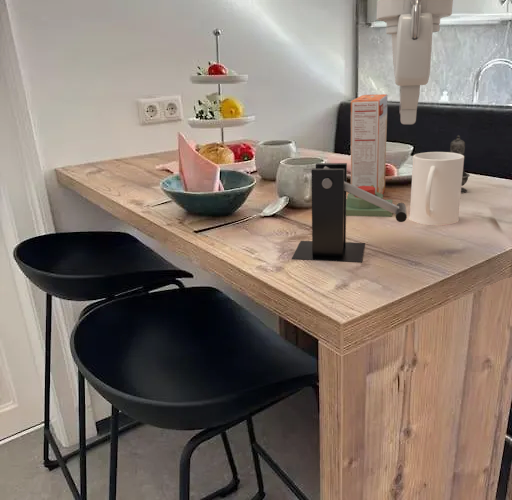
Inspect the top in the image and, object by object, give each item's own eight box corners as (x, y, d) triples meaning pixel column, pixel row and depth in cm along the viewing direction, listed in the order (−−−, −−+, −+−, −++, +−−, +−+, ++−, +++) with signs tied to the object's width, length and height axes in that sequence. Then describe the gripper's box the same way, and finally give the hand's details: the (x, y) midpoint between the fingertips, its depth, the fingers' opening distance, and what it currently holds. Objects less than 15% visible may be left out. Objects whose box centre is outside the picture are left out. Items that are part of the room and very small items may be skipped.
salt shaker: (441, 187, 113) (445, 133, 109) (469, 188, 110) (474, 133, 106) (437, 193, 108) (442, 136, 104) (467, 194, 106) (472, 137, 101)
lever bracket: (364, 250, 77) (367, 161, 73) (361, 269, 70) (364, 172, 65) (300, 247, 80) (299, 161, 75) (291, 266, 73) (289, 172, 68)
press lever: (401, 216, 73) (409, 202, 72) (401, 227, 68) (410, 211, 67) (319, 178, 74) (326, 163, 73) (314, 186, 69) (321, 170, 68)
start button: (375, 194, 95) (375, 185, 94) (374, 199, 91) (374, 190, 91) (355, 194, 96) (356, 185, 95) (354, 199, 92) (354, 190, 92)
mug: (446, 240, 80) (453, 165, 76) (394, 232, 84) (398, 162, 80) (464, 220, 89) (471, 152, 85) (416, 215, 93) (420, 150, 89)
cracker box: (358, 190, 114) (360, 94, 107) (385, 191, 112) (389, 93, 105) (348, 206, 101) (349, 99, 94) (378, 207, 99) (382, 98, 92)
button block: (391, 210, 97) (392, 190, 96) (391, 222, 90) (392, 201, 88) (340, 209, 100) (340, 189, 98) (335, 221, 92) (336, 200, 91)
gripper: (450, -11, 51) (438, 129, 55) (435, 9, 69) (427, 112, 74) (386, -6, 52) (380, 129, 57) (388, 12, 71) (383, 113, 75)
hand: (406, 119), depth 65 cm, fingers open, 8 cm apart
